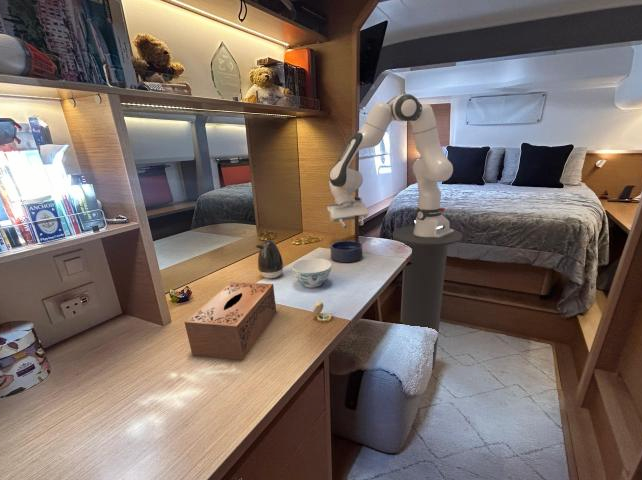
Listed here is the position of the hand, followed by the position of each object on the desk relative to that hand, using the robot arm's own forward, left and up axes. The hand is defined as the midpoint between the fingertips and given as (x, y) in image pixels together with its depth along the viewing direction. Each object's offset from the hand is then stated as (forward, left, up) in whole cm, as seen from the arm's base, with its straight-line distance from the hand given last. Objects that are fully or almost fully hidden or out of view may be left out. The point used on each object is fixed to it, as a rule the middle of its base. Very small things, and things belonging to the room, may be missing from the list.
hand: (353, 226), depth 168 cm
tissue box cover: (+75, +48, -10) cm, 89 cm away
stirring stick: (+1, +3, -10) cm, 11 cm away
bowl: (+13, +13, -10) cm, 21 cm away
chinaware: (+40, +30, -10) cm, 52 cm away
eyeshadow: (+50, +55, -10) cm, 76 cm away
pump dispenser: (+50, +13, -10) cm, 53 cm away
